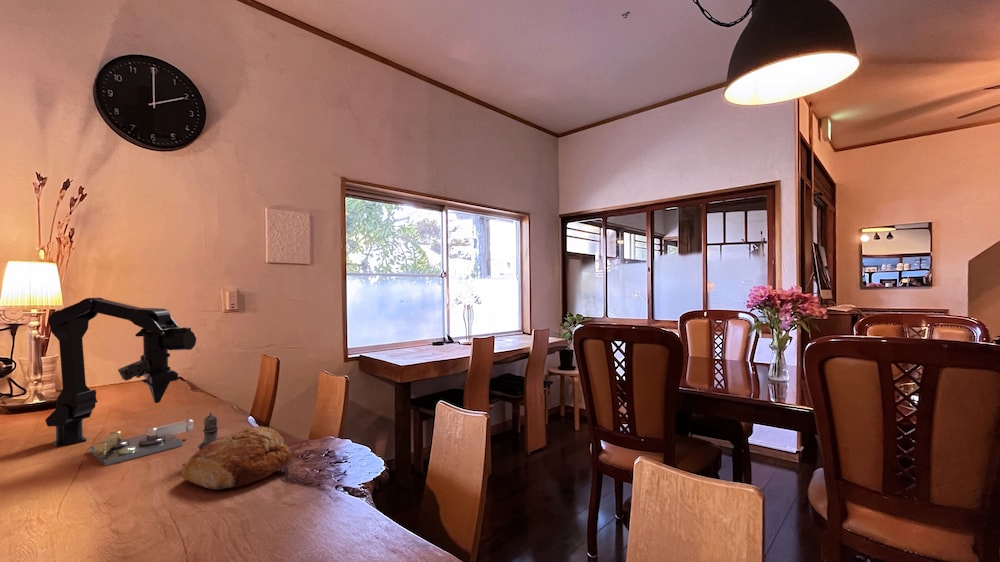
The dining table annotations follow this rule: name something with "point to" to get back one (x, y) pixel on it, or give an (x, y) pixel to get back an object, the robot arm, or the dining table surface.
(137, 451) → the plate
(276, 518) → the dining table surface
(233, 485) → the bread
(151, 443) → the silver lever handle
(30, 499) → the dining table surface
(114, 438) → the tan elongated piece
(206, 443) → the salt shaker
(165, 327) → the robot arm
